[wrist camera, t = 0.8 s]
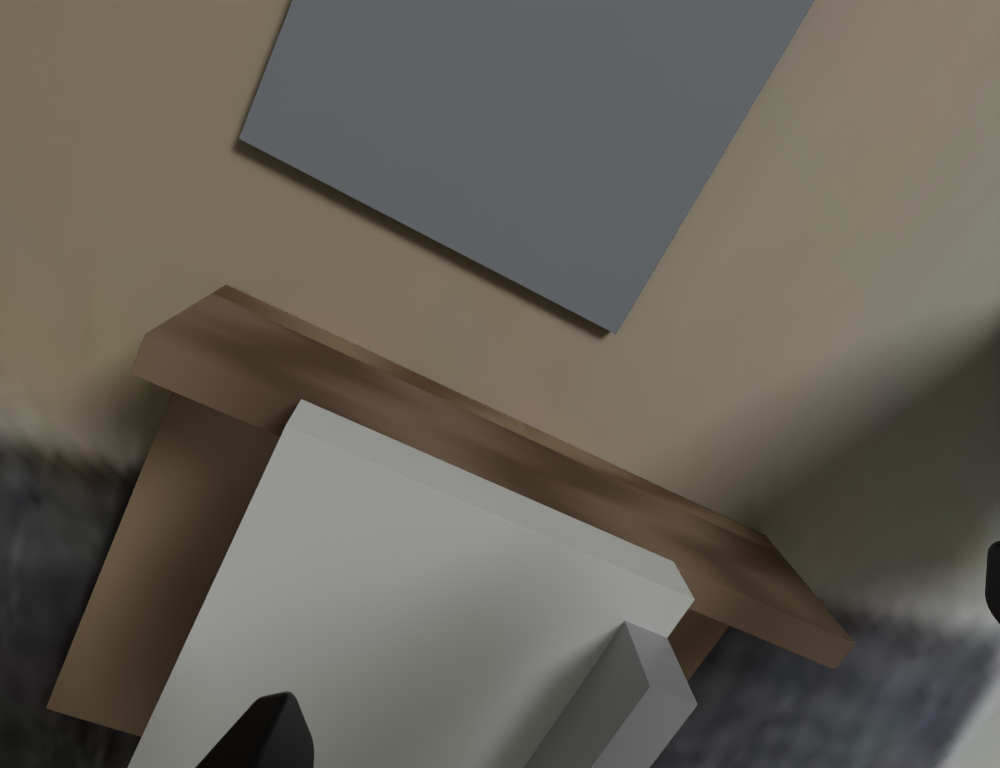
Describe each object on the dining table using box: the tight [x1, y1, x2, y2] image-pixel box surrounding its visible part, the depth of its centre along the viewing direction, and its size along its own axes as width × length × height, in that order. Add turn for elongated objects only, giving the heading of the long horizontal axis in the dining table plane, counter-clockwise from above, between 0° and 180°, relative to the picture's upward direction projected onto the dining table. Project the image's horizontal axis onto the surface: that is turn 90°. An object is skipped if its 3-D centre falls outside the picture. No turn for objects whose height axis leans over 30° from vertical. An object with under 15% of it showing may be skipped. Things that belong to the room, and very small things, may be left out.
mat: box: [239, 0, 814, 334], centre depth 17 cm, size 12×12×1 cm
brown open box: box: [46, 285, 856, 737], centre depth 21 cm, size 20×16×6 cm
